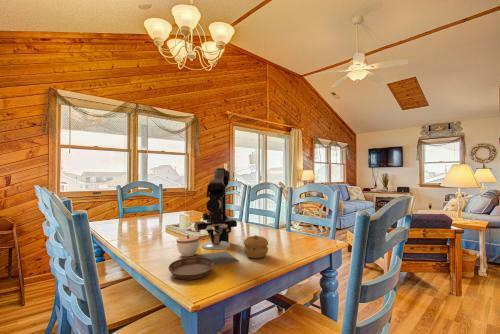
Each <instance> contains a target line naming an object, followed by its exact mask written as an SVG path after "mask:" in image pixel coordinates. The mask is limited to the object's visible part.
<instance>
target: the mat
mask: <svg viewBox="0 0 500 334" xmlns="http://www.w3.org/2000/svg"><path fill="white" fill-rule="evenodd" d="M193 257H203V258H208V259H211V260H212V261H213V262H214V264H215V265H214V267H215V266H219V265H225V264H226V265H227V264H233V263H238V262H240V260H239V259H238V258H237V257H235V256H233V255H232V254H230V252H228V251H227V250H224V251H223V250H222V251H216V252H215V251H214V252H210V253H209V252H208V253H202V254H195V255H193Z"/></svg>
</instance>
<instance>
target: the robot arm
mask: <svg viewBox="0 0 500 334" xmlns="http://www.w3.org/2000/svg"><path fill="white" fill-rule="evenodd" d="M230 181H231V173H230V171H228V170H227V169H226V168H224V167H218V168H215V171H214V172H213V179H211V180H210V181H209V183H208V184H207V190H206V198H209V199H208V201H206V205H205V207H206V209H207V211H208V213H207V212H204V213H202V221H201V220H200V221H195V222H194V229H196V231H204V230H205V231H206V232H207V234H208V236H209V239H210V241H211V242H212V244H213V242H214V234H219V243H220V242H221V241H226V242H229V241H230V240H229V239H230V238H229V236H230V235H229V234H230V233H232V228H235V227H238V221H237V220H235V219H233V218H230V217H228V215H227V187H228V186H229V184H230ZM229 243H230V244H231V242H229Z"/></svg>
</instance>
